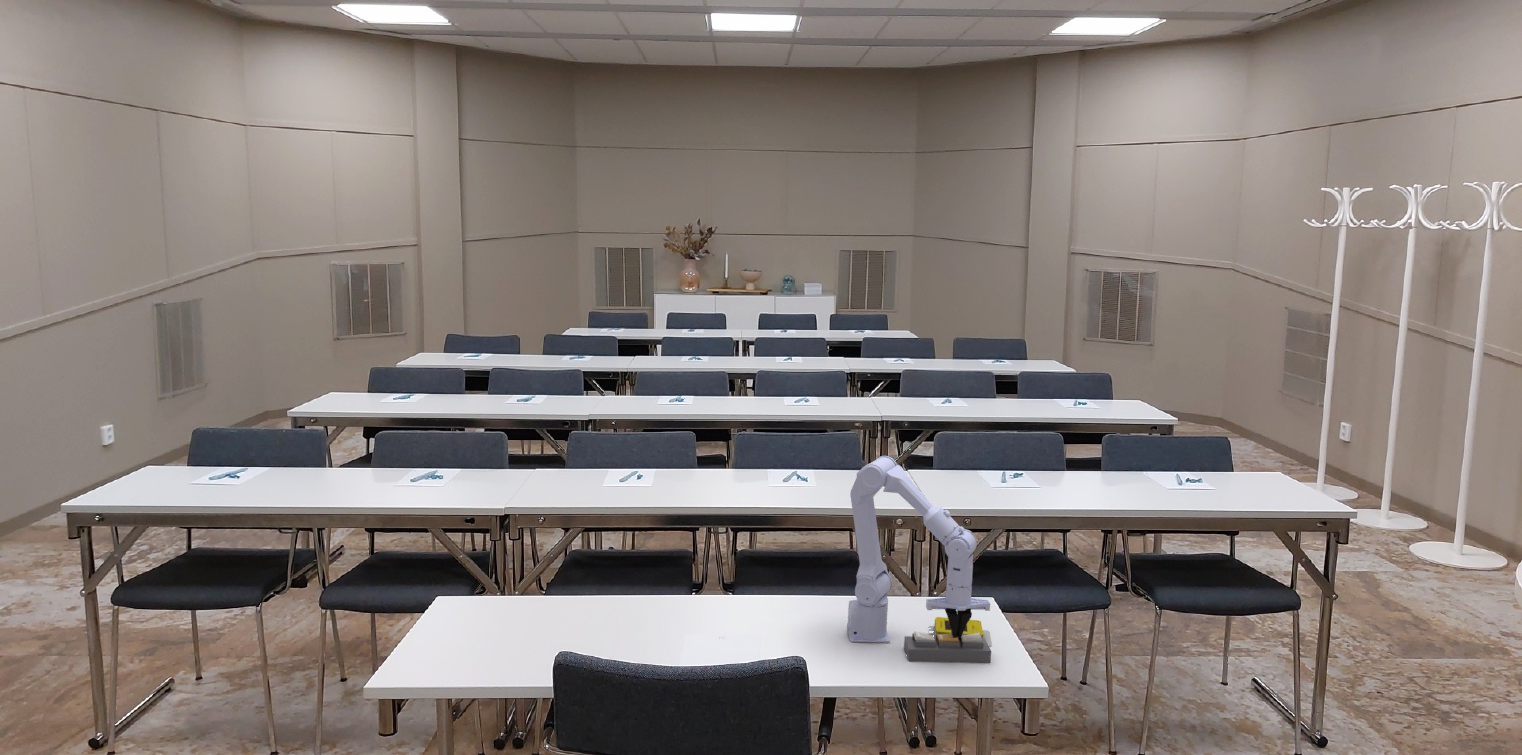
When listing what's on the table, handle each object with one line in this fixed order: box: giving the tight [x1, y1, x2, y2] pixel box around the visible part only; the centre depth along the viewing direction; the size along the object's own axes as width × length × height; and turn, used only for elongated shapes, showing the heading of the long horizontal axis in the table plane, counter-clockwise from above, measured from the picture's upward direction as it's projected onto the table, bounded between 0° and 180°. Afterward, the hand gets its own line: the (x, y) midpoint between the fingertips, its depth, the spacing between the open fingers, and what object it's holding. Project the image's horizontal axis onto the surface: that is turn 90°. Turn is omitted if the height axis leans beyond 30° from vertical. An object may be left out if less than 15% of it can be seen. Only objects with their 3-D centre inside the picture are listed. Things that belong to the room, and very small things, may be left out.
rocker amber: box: [937, 633, 958, 642], centre depth 249 cm, size 4×3×1 cm, turn 91°
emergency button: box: [927, 616, 993, 648], centre depth 260 cm, size 9×4×15 cm
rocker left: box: [913, 630, 935, 641], centre depth 249 cm, size 4×3×1 cm, turn 92°
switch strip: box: [903, 632, 992, 664], centre depth 249 cm, size 19×7×4 cm, turn 91°
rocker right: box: [961, 633, 982, 642], centre depth 249 cm, size 4×3×1 cm, turn 91°
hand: (956, 638), depth 249 cm, fingers closed, pressing on rocker amber
